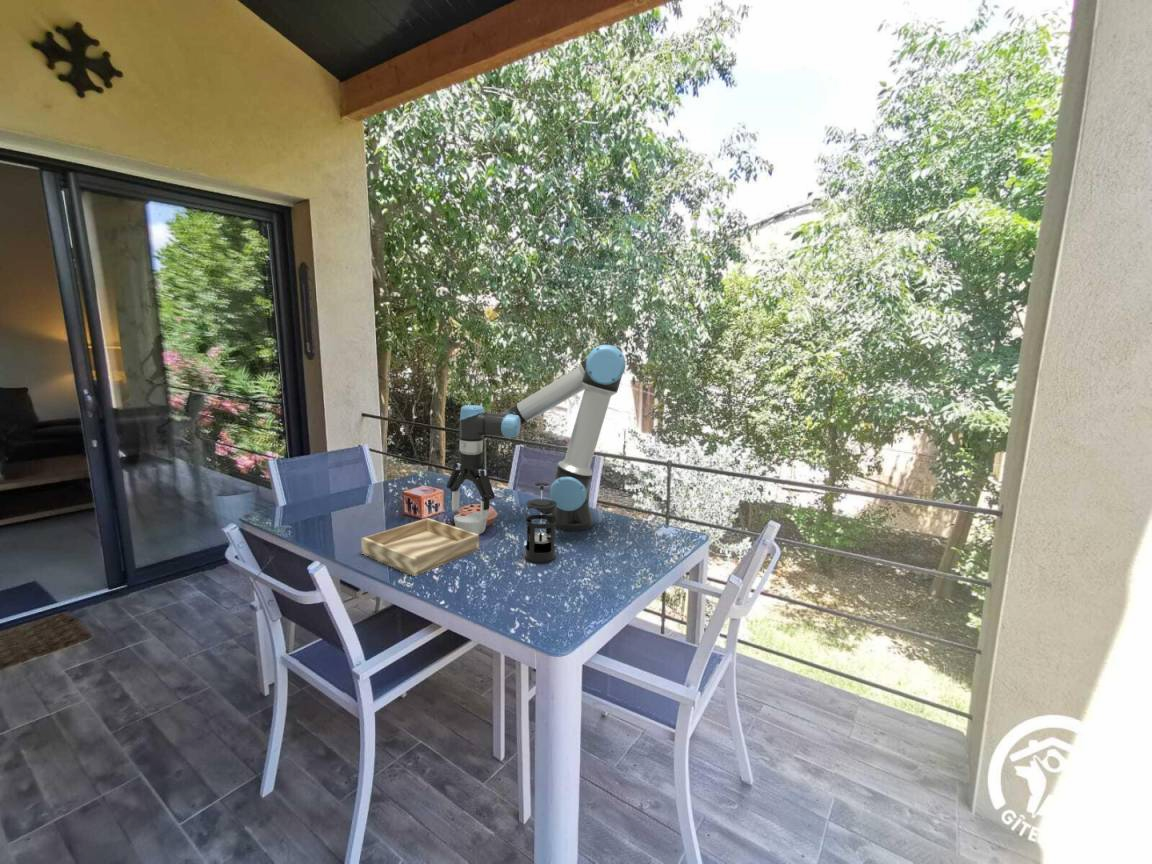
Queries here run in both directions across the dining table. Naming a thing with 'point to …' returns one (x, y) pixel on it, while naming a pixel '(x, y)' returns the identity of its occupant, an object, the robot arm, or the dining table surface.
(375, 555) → the pine tray
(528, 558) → the french press
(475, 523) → the ramekin
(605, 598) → the dining table surface
